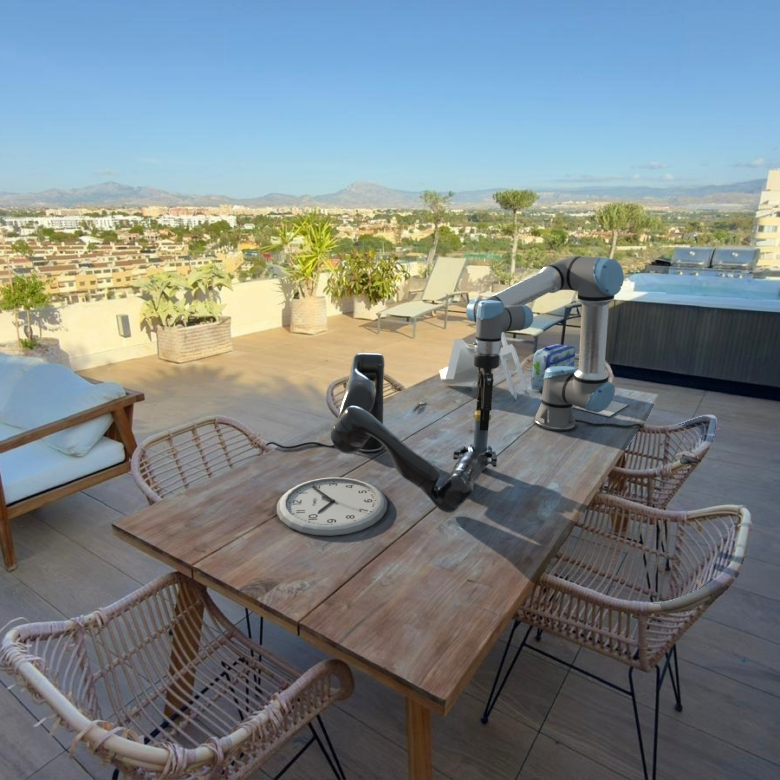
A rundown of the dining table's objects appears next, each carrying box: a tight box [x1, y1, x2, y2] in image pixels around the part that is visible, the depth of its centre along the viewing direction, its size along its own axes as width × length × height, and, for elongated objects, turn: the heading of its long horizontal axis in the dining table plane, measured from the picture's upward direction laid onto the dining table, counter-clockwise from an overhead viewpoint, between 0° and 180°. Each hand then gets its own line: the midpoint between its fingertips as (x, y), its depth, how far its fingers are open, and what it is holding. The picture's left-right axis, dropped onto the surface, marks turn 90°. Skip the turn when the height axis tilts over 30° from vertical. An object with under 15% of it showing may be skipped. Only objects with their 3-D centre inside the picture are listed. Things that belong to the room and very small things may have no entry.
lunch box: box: [530, 343, 576, 392], centre depth 248 cm, size 26×11×21 cm, turn 134°
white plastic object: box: [438, 332, 531, 400], centre depth 245 cm, size 37×45×31 cm
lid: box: [473, 410, 492, 421], centre depth 161 cm, size 5×5×2 cm
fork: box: [413, 396, 428, 412], centre depth 222 cm, size 3×16×2 cm, turn 160°
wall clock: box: [276, 476, 388, 537], centre depth 142 cm, size 30×2×30 cm
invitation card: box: [573, 400, 629, 418], centre depth 226 cm, size 21×1×15 cm
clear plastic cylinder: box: [473, 419, 489, 471], centre depth 164 cm, size 4×4×18 cm
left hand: (481, 447), depth 167 cm, fingers closed on clear plastic cylinder, 4 cm apart
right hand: (481, 425), depth 162 cm, fingers open, 7 cm apart
